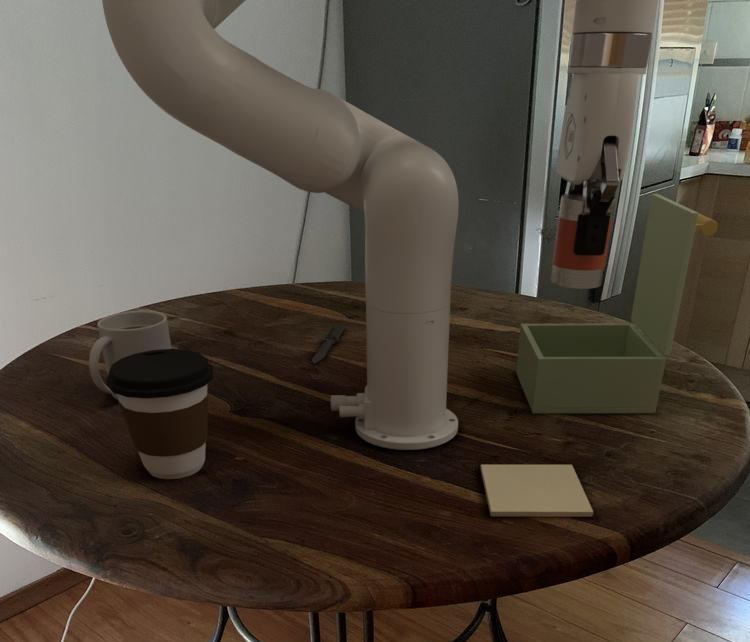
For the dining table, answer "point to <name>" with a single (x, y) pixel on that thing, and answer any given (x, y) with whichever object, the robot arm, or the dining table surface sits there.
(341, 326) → the knife
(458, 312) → the dining table surface
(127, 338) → the mug
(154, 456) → the coffee cup
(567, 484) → the mat
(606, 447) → the dining table surface
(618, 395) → the chest
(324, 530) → the dining table surface
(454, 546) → the dining table surface
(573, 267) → the can
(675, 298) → the lid
